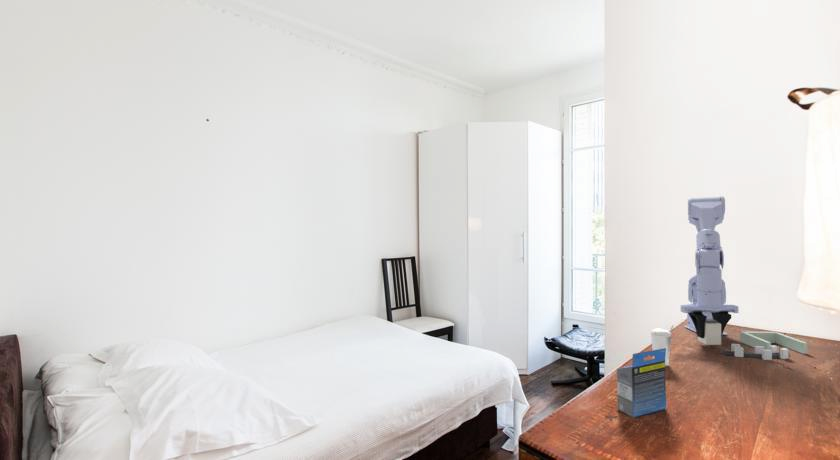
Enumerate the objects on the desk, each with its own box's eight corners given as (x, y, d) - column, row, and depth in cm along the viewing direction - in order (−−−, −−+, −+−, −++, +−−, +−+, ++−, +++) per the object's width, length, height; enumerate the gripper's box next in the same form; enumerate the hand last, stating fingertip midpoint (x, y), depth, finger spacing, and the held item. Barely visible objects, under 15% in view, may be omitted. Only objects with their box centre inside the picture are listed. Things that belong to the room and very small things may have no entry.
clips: (727, 352, 108) (727, 343, 108) (775, 353, 107) (775, 344, 107) (741, 359, 103) (741, 350, 102) (793, 360, 101) (793, 350, 101)
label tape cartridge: (649, 401, 81) (649, 342, 80) (667, 409, 77) (666, 347, 77) (616, 409, 78) (616, 347, 77) (633, 418, 74) (632, 354, 74)
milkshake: (678, 367, 98) (678, 328, 98) (657, 367, 98) (657, 328, 98) (667, 360, 103) (667, 323, 102) (647, 361, 103) (647, 323, 103)
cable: (719, 352, 108) (719, 349, 108) (786, 353, 106) (786, 350, 106) (729, 357, 104) (729, 354, 104) (798, 358, 102) (798, 355, 102)
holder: (739, 341, 117) (739, 331, 117) (776, 341, 116) (776, 331, 116) (767, 353, 107) (767, 342, 107) (807, 354, 106) (807, 343, 106)
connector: (697, 340, 116) (697, 318, 115) (712, 340, 115) (712, 318, 115) (706, 344, 112) (706, 321, 111) (721, 344, 111) (721, 321, 111)
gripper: (690, 293, 110) (690, 341, 110) (746, 293, 108) (746, 341, 109) (676, 288, 117) (676, 333, 117) (728, 288, 115) (728, 334, 116)
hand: (709, 337), depth 113 cm, fingers closed on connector, 4 cm apart
